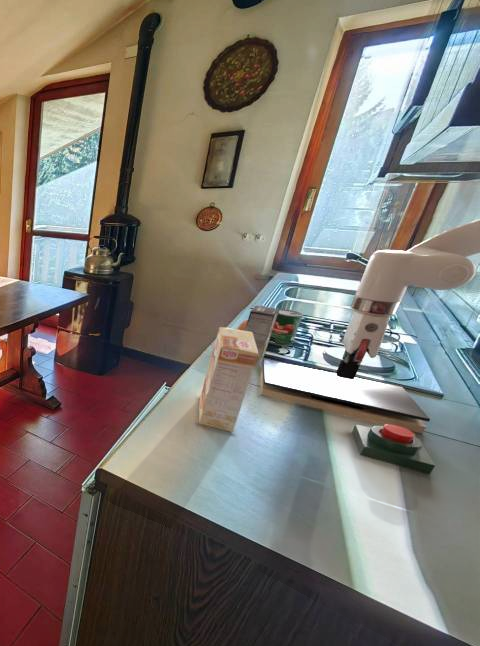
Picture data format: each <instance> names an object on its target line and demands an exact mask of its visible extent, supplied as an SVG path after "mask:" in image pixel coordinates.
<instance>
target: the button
mask: <svg viewBox="0 0 480 646" xmlns="http://www.w3.org/2000/svg"><path fill="white" fill-rule="evenodd" d="M383 426H384V427H383V429H382V431H381V434H382V435H383V436H385V437H387V438H389V439H392V440H394V441H397V442H401V443H411V441H412V440H413V438H414V436H415V435H416V434H415V432H414V431H410V430H408V429H405V428H403V427H400V426H396V425H390V424H387V425H385V424H383ZM415 437H416V436H415Z"/></svg>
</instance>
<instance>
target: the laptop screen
mask: <svg viewBox="0 0 480 646" xmlns="http://www.w3.org/2000/svg"><path fill="white" fill-rule="evenodd" d="M262 362H263V374H264V384H265V385H270V386H274V387H278V388H283V389H287V390H292V391H296V392H300V393H305V394H309V395H314V396H318V397H322V398H327V399H331V400H335V401H340V402H344V403H349V404H353V405H357V406H362V407H366V408H371V409H375V410H379V411H384V412H388V413H393V414H397V415H401V416H406V417H410V418H415V419H419V420H422V422H423V421H424V422H430V421H431V418H430V417H429V416H428V415H427V414H426V412H425V411H424V410H423V409H422V408H421V407H420V405H418V403H417V402H416V401H415V400H414V399H413V397H412V396H411V395H410V394H409V393H408V392H407V391H406V389H405V388H404V387H403V386H398V385H394V384H390V383H384V382H379V381H374V380H369V379H364V378H359V377H355V378H354V379H353V380H351V379H346V378H341V377H337V375H336V373H335V372H329V371H325V370H319V369H313V368H309V367H304V366H300V365H294V364H289V363H283V362H279V361H274V360H270V359H263V358H262Z"/></svg>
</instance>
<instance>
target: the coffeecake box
mask: <svg viewBox="0 0 480 646" xmlns="http://www.w3.org/2000/svg"><path fill="white" fill-rule="evenodd" d="M213 345H214V346H213V348H212V349H213V350H212V352H211V355H210V360H209V363H208V367H207V370H206V374H205V378H204V381H203V385H202V389H201V392H200V395H199V408H198V409H199V410H198V424H199V425H201V426H204V427H205V426H206V427H210V428H215V429H218V430H221V431H226V432H230V433H234V430H235V428H236V427H235V426H236V424H237V421H238V418H239V416H240V415H239V414H240V411H241V408H242V406H243V403H244V400H245V397H246V395H247V391H248V388H249V385H250V381H251V378H252V375H253V372H254V369H255V365H256V364H255V363H256V360H257V357H258V355H259V354H258V350H257V346H256V343H255V339H254V336H253V333H252V332H249V331H242V330H237V328H236V329H235V328H231V327H224V326H219V327H218V331H217V335H216V338H215V342H214V344H213Z"/></svg>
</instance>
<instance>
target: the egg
mask: <svg viewBox="0 0 480 646" xmlns="http://www.w3.org/2000/svg"><path fill="white" fill-rule="evenodd" d="M247 321H248V319H245V320H244V321H242V322H241V323H240V324H238V326H237V327H236V329H237V330H242V331H245V328H246V324H247Z"/></svg>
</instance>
